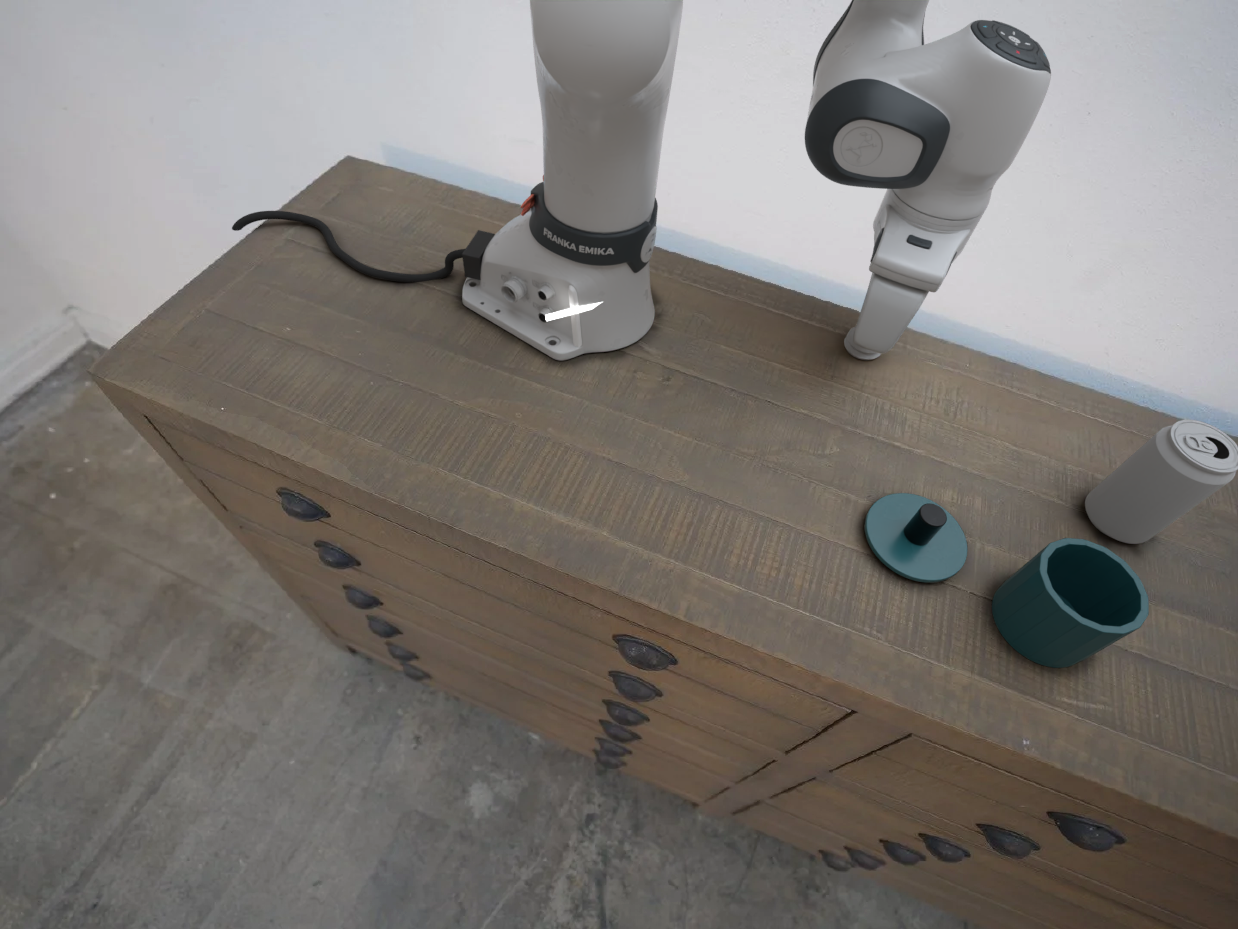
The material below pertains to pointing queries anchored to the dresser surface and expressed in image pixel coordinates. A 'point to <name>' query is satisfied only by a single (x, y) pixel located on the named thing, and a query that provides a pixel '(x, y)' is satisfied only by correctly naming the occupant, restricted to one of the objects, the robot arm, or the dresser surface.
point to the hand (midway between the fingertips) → (871, 328)
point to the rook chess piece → (858, 348)
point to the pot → (1069, 603)
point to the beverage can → (1162, 481)
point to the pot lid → (915, 537)
